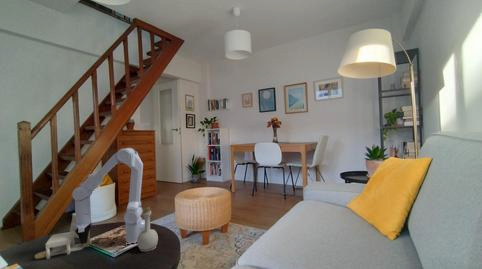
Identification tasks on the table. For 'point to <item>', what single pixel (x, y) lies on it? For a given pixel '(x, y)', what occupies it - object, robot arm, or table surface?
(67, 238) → the white toy table
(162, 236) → the table surface
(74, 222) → the stone
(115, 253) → the table surface
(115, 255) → the table surface
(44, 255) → the token
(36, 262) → the table surface
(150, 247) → the potion bottle
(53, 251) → the blade tool
